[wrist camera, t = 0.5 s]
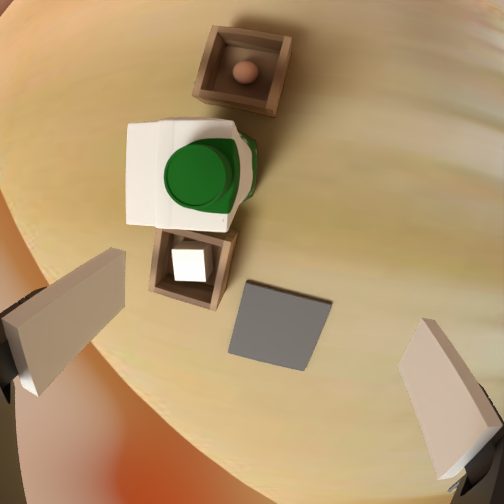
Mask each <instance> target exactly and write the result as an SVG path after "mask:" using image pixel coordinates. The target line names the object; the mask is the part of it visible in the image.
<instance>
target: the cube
mask: <svg viewBox="0 0 504 504" xmlns="http://www.w3.org/2000/svg"><path fill="white" fill-rule="evenodd" d="M172 258H173V267H174V276H175V280H177V281H204V282H206V281H207V279H208V278H209V276H210V274H211V273H212V271H213V256H212V244H210V243H206V242H202V241H181V242H180V243H179V244H178V245H177V246H175V247H174V248H173V249H172Z"/></svg>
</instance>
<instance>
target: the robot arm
mask: <svg viewBox="0 0 504 504" xmlns="http://www.w3.org/2000/svg"><path fill="white" fill-rule="evenodd" d="M125 261H126V251H123V250H119V249H115V248H110V249H108V250H106V251H105V252H103V253H101V254H100V255H98V256H96V257H94V258H93V259H91V260H90V261H88V262H86V263H85V264H83V265H81V266H80V267H78V268H76V269H75V270H73V271H72V272H70V273H68V274H67V275H65V276H64V277H62V278H61V279H59V280H57V281H56V282H54V283H53V284H51V285H50V286H48V287H43V288H40V289H37V290H35V291H33V292H31V293H30V294H28V295H27V296H25V298H22V299H21V300H19V301H18V303H15V304H13V305H12V306H10V307H9V308H7V309H6V310H4V311H3V312H2V313H0V504H27V502H26V497H25V493H24V488H23V482H22V477H21V470H20V463H19V455H18V447H17V435H16V420H15V386H14V382H13V379H14V378H15V377H16V376H17V375H19V378H20V381H21V383H22V386H23V387H24V388H25V389H27V390H28V391H30V392H31V393H33V394H35V395H36V396H38V397H39V396H40V395H41V394H42V393H43V391H44V390H45V389H46V388H47V387H48V386H49V385H50V384H51V383H52V382H53V381H54V379H55V378H56V377H57V376H58V375H59V374H60V373H61V372H62V371H63V370H64V368H66V366H67V365H68V364H69V363H70V362H71V361H72V360H73V359H74V358H75V357H76V355H78V354H79V353H80V352H81V351H82V349H83V348H84V347H85V346H86V345H87V344H88V343H89V342H90V341H91V340H92V339H93V338H94V337H95V336H96V335H97V334H98V333H99V332H100V331H101V330H102V329H103V328H104V327H105V326H106V325H107V324H108V323H109V322H110V321H111V320H112V319H113V318H114V317H115V316H116V315H117V314H118V313H119V312H120V311H121V310H122V309H123V308H124V307H125ZM397 367H398V369H399V372H400V374H401V377H402V379H403V382H404V384H405V387H406V389H407V392H408V394H409V397H410V400H411V402H412V405H413V408H414V410H415V413H416V416H417V418H418V421H419V424H420V427H421V430H422V433H423V435H424V438H425V441H426V444H427V447H428V450H429V453H430V456H431V460H432V463H433V466H434V469H435V473H436V476H437V479H438V480H441V479H447V478H452V477H454V476H455V475H456V474H458V473H459V472H460V471H461V470H462V469H463V468H464V467H465V470H466V474H465V475H464V476H463V477H462V478H461V479H460V480H458V481H457V482H456V483H455V484H454V485H453V486H452V487H450V489H449V490H448V491H447V492H449V493H450V492H451V491H452V490H453V489H454V488H456V487H457V489H456V491H455V492H454V493H453V495H454V496H453V499H452V501H451V503H450V504H504V422H503V420H502V418H501V416H500V415H499V413H498V411H497V410H496V408H495V406H494V405H493V403H492V401H491V399H490V398H488V397H489V396H488V395H487V393H486V391H485V390H484V388H483V387H482V386H481V385H480V384H479V383H478V382H477V381H476V379H475V378H474V376H473V374H472V373H471V371H470V370H469V368H468V367H467V365H466V364H465V362H464V361H463V359H462V358H461V356H460V355H459V353H458V352H457V351H456V349H455V348H454V346H453V345H452V343H451V342H450V340H449V339H448V338H447V336H446V335H445V333H444V332H443V331H442V329H441V328H440V327H439V325H438V324H437V322H436V321H435V320H431V319H426V318H421V320H420V322H419V325H418V327H417V329H416V331H415V333H414V335H413V337H412V339H411V341H410V343H409V345H408V347H407V349H406V351H405V353H404V355H403V357H402V359H401V361H400V363H399V364H398V366H397Z"/></svg>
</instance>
